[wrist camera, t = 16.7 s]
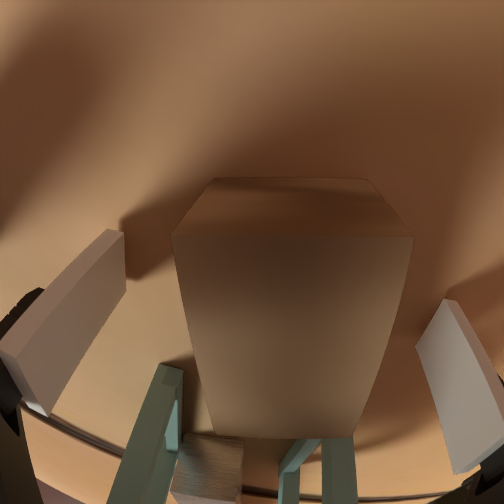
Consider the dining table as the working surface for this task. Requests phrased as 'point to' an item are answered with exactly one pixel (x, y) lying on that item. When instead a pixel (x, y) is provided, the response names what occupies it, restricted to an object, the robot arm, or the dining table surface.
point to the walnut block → (290, 300)
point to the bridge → (168, 447)
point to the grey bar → (208, 471)
